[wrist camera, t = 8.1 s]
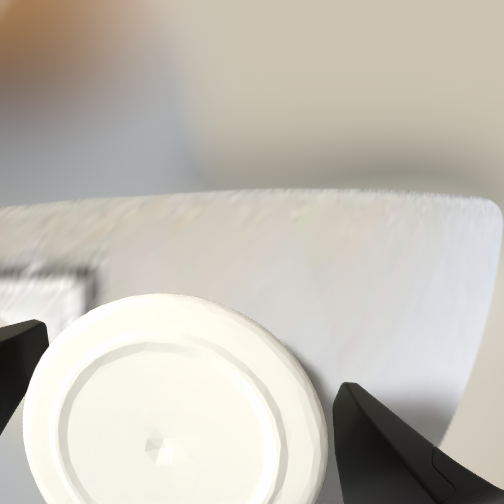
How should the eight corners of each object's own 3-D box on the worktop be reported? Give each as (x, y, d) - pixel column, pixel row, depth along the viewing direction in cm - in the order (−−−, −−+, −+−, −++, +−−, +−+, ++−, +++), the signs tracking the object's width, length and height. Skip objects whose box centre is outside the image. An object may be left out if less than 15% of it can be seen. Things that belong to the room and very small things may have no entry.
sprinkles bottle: (197, 363, 17) (159, 225, 5) (263, 417, 16) (398, 417, 4) (141, 421, 15) (-32, 417, 3) (206, 478, 14) (192, 628, 2)
